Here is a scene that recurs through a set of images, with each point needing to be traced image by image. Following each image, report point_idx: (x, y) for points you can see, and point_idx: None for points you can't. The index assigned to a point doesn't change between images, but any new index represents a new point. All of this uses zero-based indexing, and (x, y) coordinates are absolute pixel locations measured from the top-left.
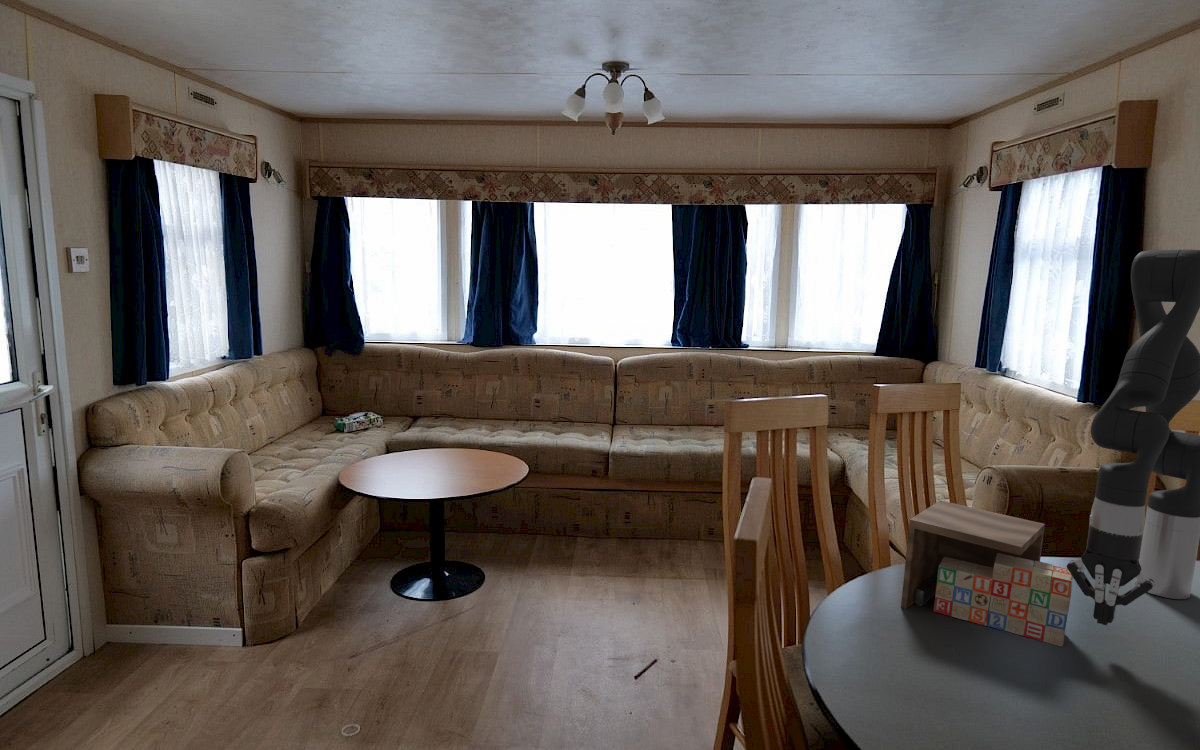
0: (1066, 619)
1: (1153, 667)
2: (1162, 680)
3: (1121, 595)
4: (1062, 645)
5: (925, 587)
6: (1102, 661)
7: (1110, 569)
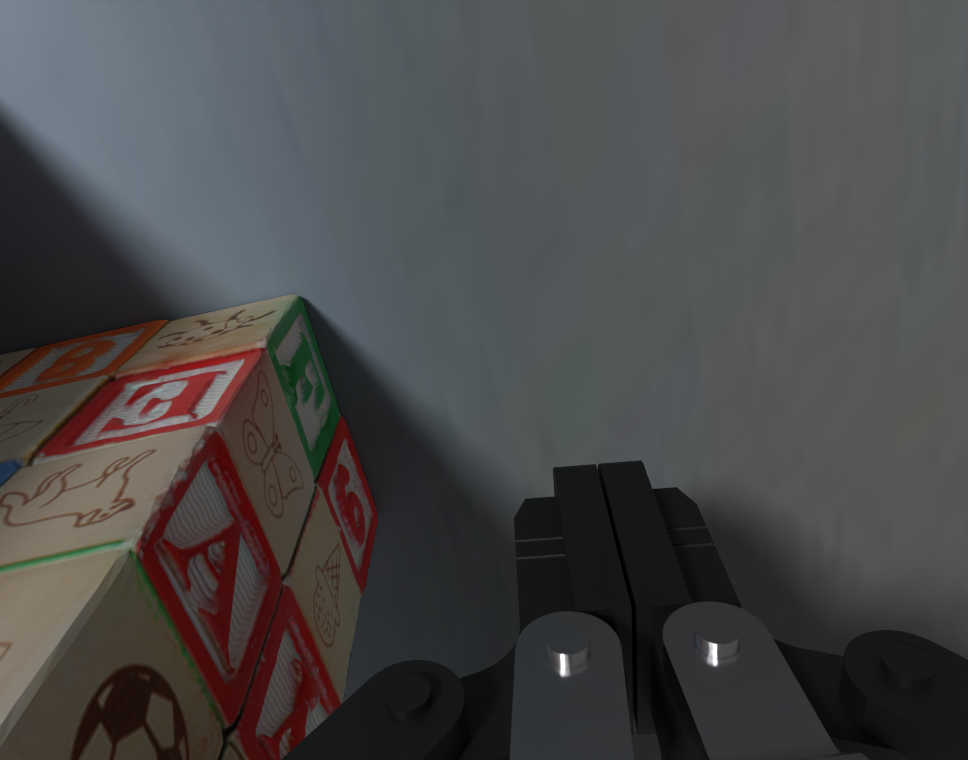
0: (347, 670)
1: (909, 357)
2: (951, 499)
3: (860, 750)
4: (376, 524)
5: None
6: None
7: None
